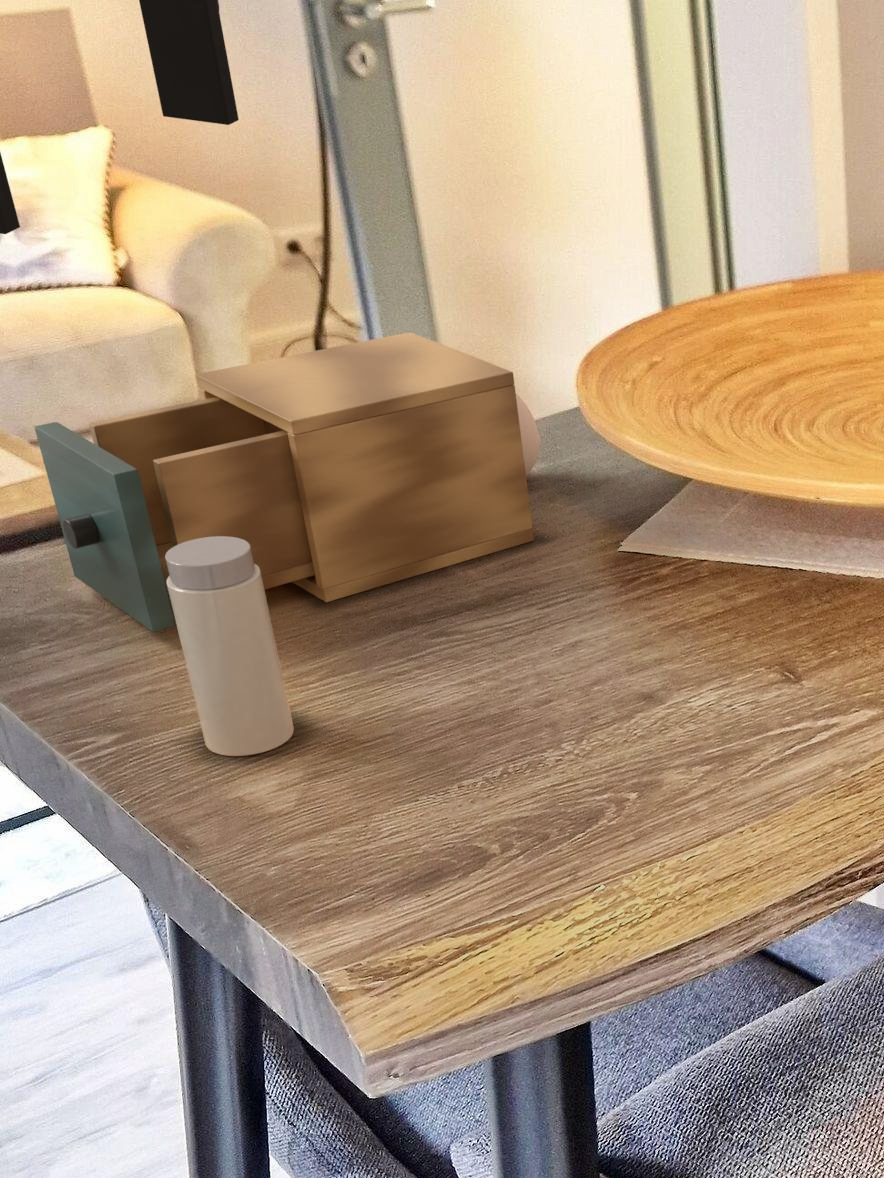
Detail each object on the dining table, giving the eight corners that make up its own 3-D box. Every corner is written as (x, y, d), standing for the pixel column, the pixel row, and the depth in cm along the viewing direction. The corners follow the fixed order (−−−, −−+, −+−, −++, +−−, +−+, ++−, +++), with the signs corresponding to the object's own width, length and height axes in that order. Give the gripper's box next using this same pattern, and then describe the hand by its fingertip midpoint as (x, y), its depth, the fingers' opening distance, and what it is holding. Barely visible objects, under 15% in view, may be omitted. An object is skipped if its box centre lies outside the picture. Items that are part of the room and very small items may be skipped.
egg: (559, 481, 114) (548, 384, 111) (502, 502, 111) (489, 402, 107) (510, 466, 116) (498, 370, 113) (453, 486, 113) (438, 387, 110)
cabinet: (326, 602, 96) (290, 421, 91) (232, 546, 103) (194, 374, 98) (534, 540, 105) (513, 371, 100) (435, 492, 112) (410, 331, 107)
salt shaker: (190, 736, 82) (144, 549, 78) (270, 709, 85) (230, 527, 80) (228, 765, 80) (183, 574, 75) (309, 737, 83) (270, 551, 78)
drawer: (130, 639, 89) (89, 480, 85) (52, 582, 96) (10, 431, 91) (372, 569, 98) (346, 421, 94) (286, 521, 104) (258, 380, 100)
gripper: (-297, -611, 38) (-33, 300, 51) (270, -546, 59) (360, 94, 71) (-599, -641, 39) (-265, 267, 51) (65, -567, 59) (190, 72, 72)
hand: (98, 168), depth 61 cm, fingers open, 13 cm apart
